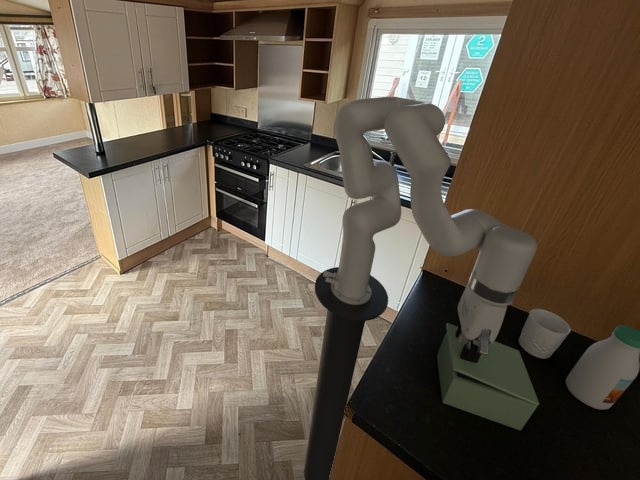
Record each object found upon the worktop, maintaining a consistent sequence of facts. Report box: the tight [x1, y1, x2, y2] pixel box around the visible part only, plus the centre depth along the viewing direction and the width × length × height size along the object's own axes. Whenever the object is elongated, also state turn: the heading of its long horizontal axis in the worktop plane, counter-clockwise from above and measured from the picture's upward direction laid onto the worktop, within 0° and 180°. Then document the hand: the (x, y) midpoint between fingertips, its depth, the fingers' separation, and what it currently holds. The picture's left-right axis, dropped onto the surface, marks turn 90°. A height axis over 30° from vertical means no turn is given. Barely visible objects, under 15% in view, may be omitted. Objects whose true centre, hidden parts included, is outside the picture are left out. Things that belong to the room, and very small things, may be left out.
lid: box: [445, 322, 540, 407], centre depth 67 cm, size 15×13×5 cm
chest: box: [436, 331, 538, 432], centre depth 71 cm, size 15×13×9 cm
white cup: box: [518, 308, 572, 360], centre depth 81 cm, size 8×8×10 cm
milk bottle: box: [565, 324, 640, 411], centre depth 68 cm, size 8×8×20 cm
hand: (465, 348), depth 69 cm, fingers closed on lid, 5 cm apart
